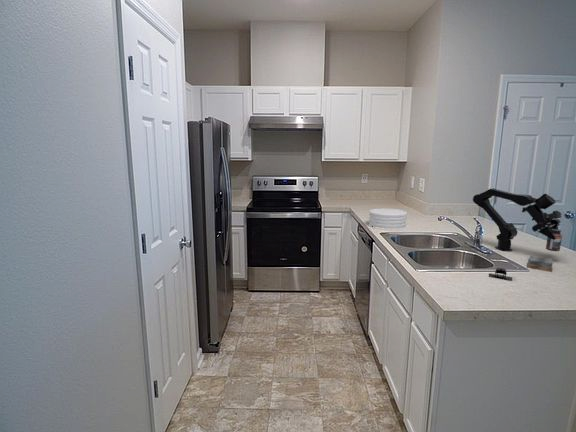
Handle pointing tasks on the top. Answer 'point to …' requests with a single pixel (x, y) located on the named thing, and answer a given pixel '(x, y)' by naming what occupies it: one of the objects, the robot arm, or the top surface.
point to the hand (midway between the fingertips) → (557, 238)
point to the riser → (540, 263)
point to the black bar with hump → (501, 271)
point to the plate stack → (388, 218)
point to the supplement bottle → (554, 241)
